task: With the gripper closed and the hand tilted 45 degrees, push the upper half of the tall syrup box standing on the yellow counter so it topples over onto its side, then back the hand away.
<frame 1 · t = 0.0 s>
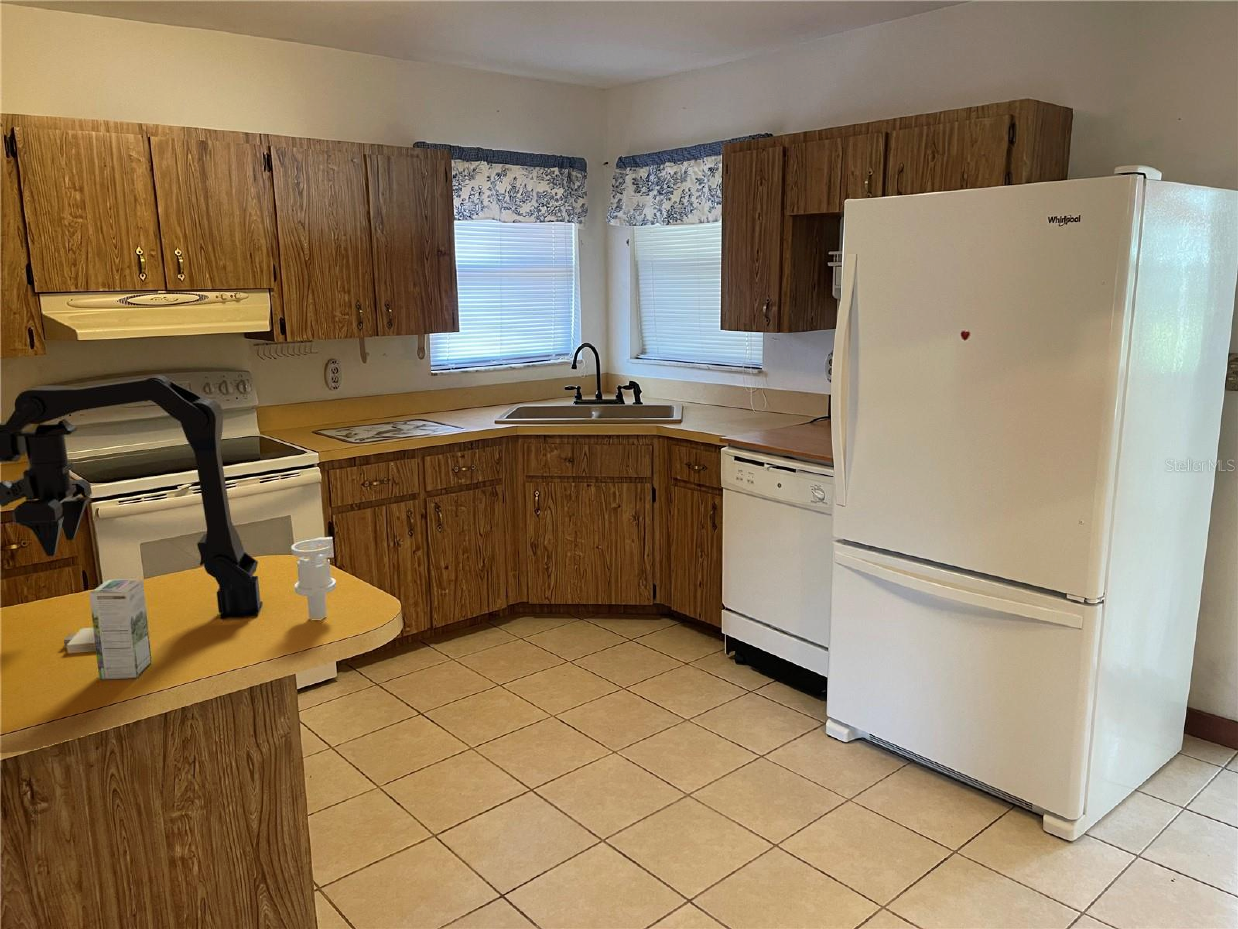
hand: (60, 547, 156), 15 cm above the table, tool pointing down, fingers open, 9 cm apart
cream flat tabbed slab: (104, 642, 152), on the table
syrup box: (127, 672, 142), on the table
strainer: (318, 618, 163), on the table
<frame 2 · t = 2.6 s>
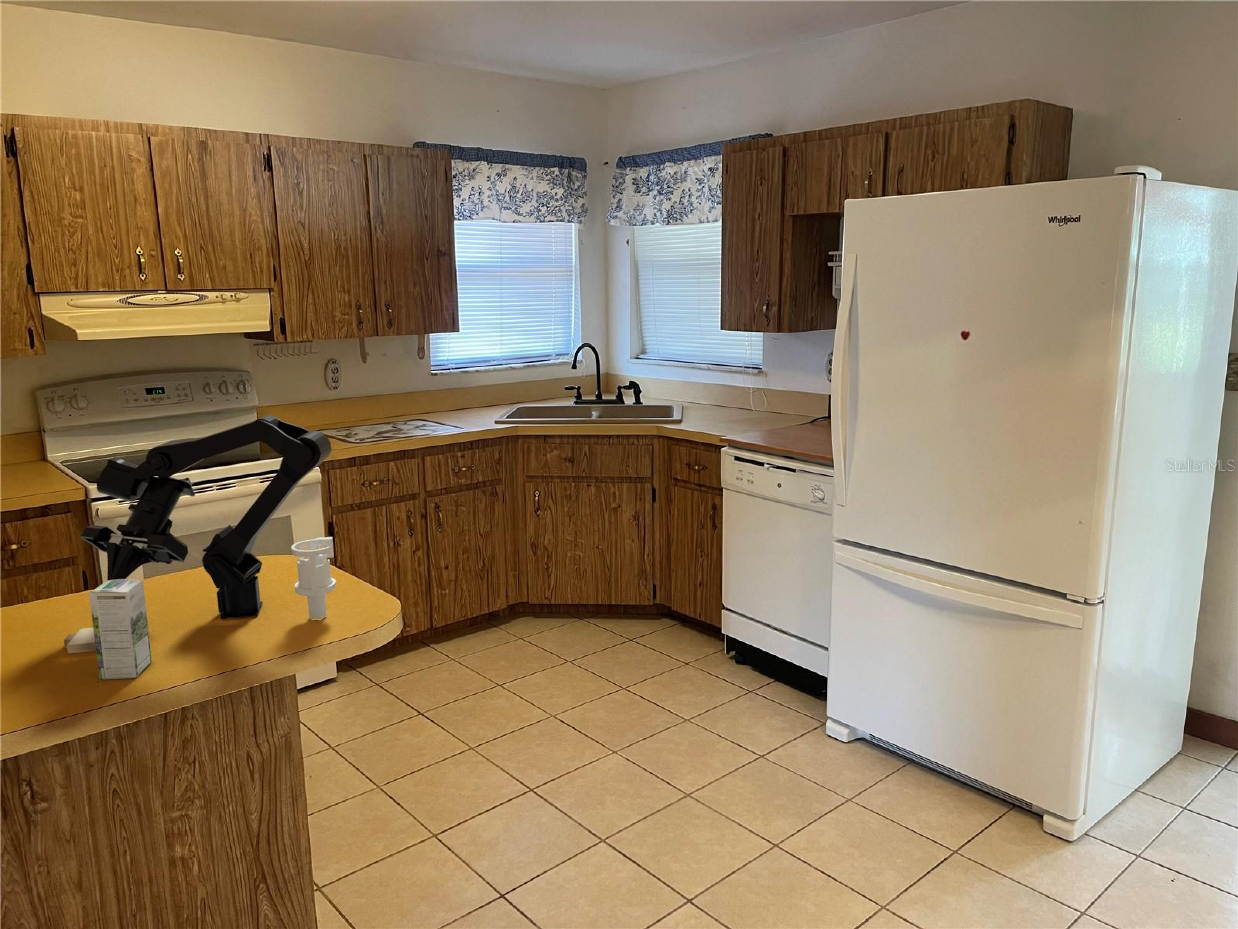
hand: (110, 587, 151), 9 cm above the table, tool tilted 45°, fingers closed
nothing on the table moved.
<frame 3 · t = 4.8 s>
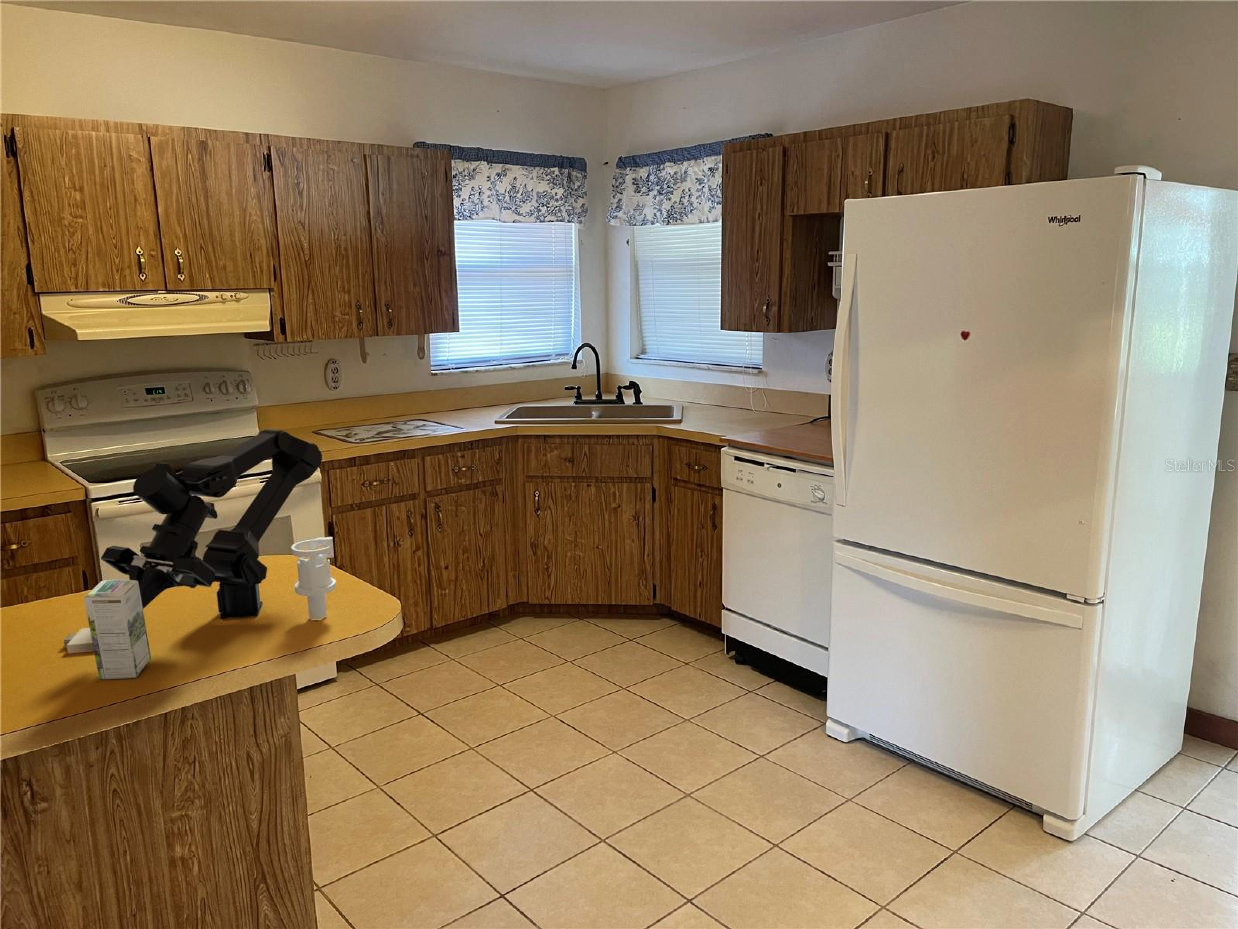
hand: (132, 613, 142), 9 cm above the table, tool tilted 45°, fingers closed
syrup box: (126, 670, 141), on the table, touching gripper
everything else where it was.
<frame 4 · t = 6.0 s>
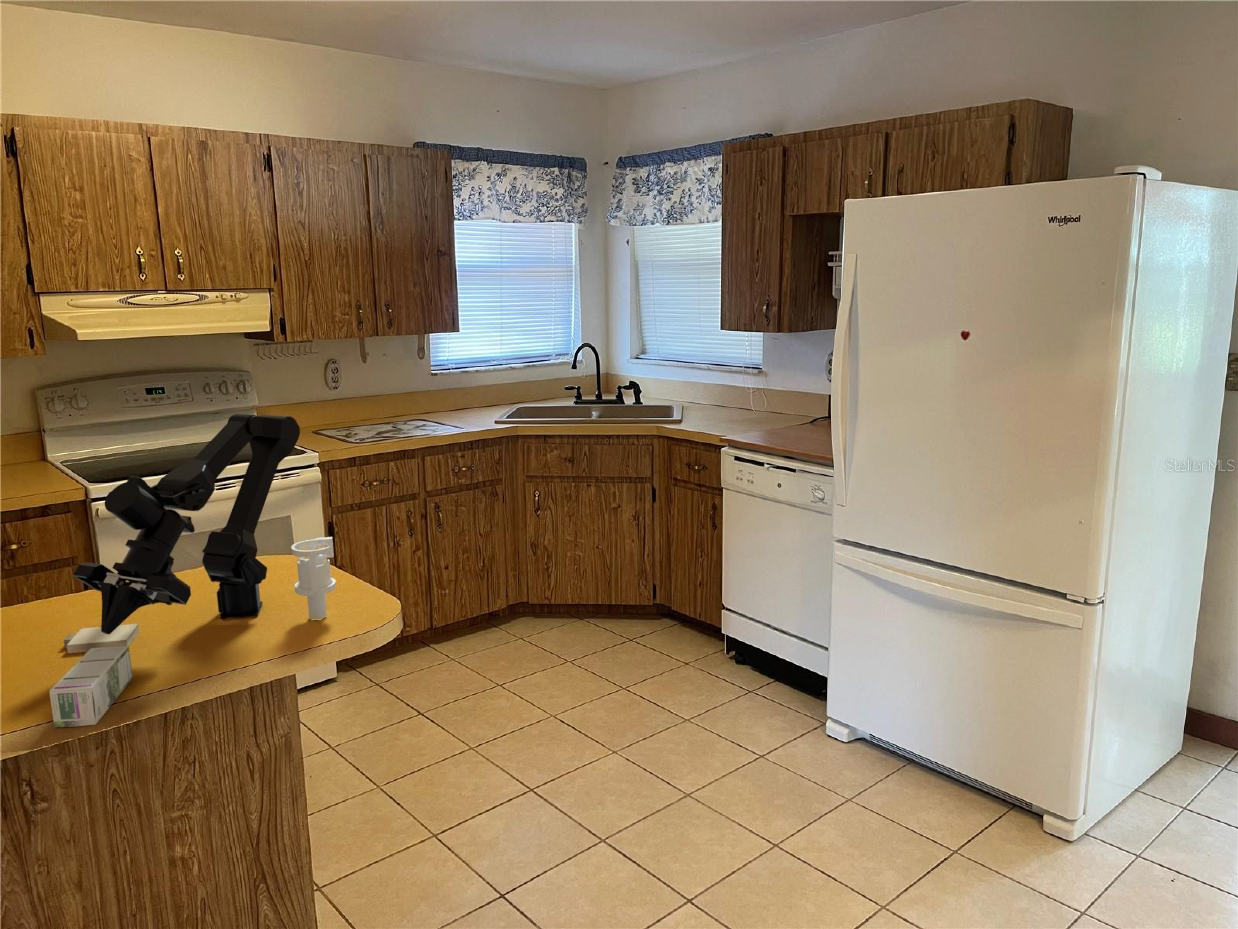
hand: (105, 633, 137), 8 cm above the table, tool tilted 45°, fingers closed
syrup box: (113, 662, 138), point 3 cm above the table
everything else where it was.
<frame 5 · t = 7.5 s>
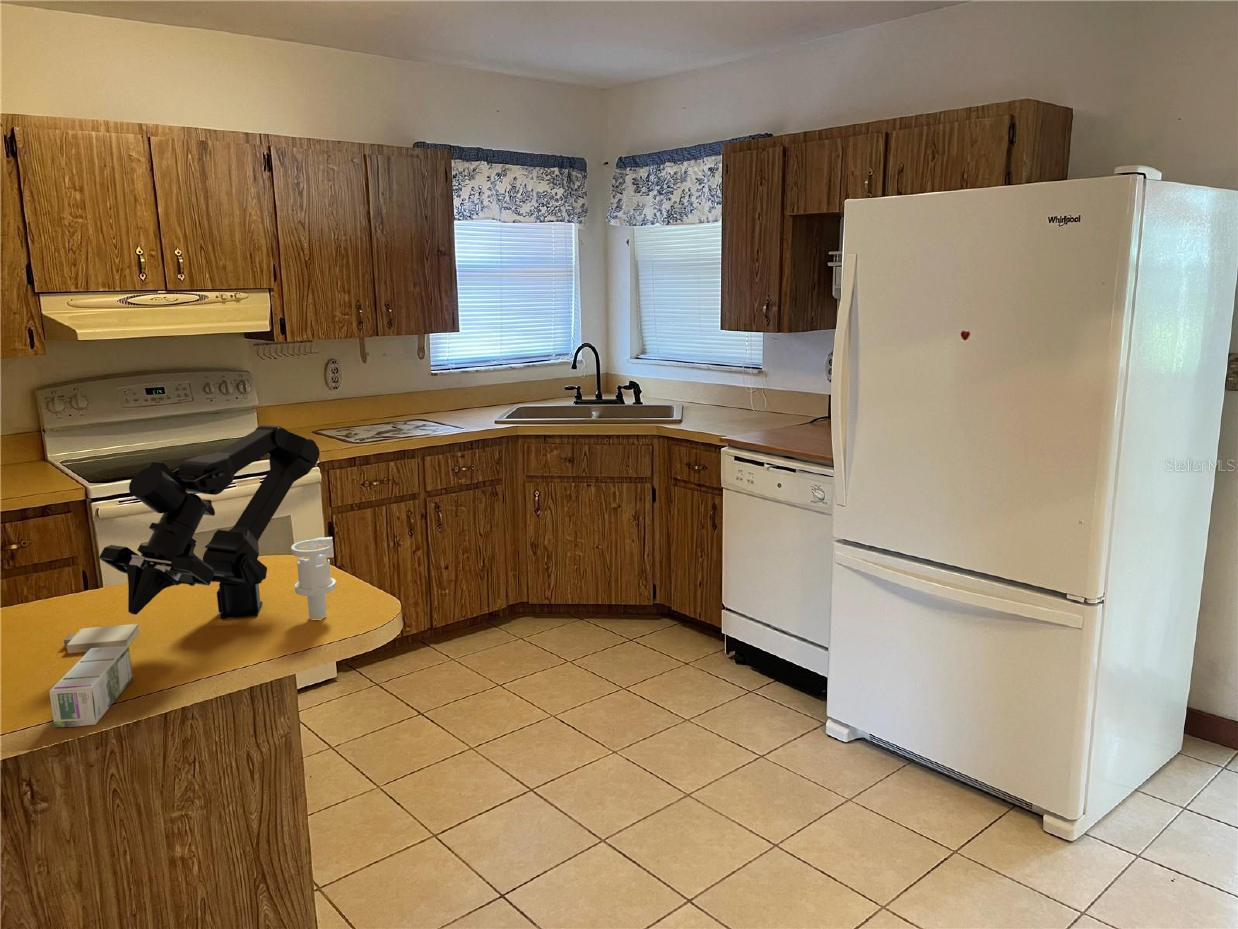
hand: (132, 613, 142), 9 cm above the table, tool tilted 45°, fingers closed
nothing on the table moved.
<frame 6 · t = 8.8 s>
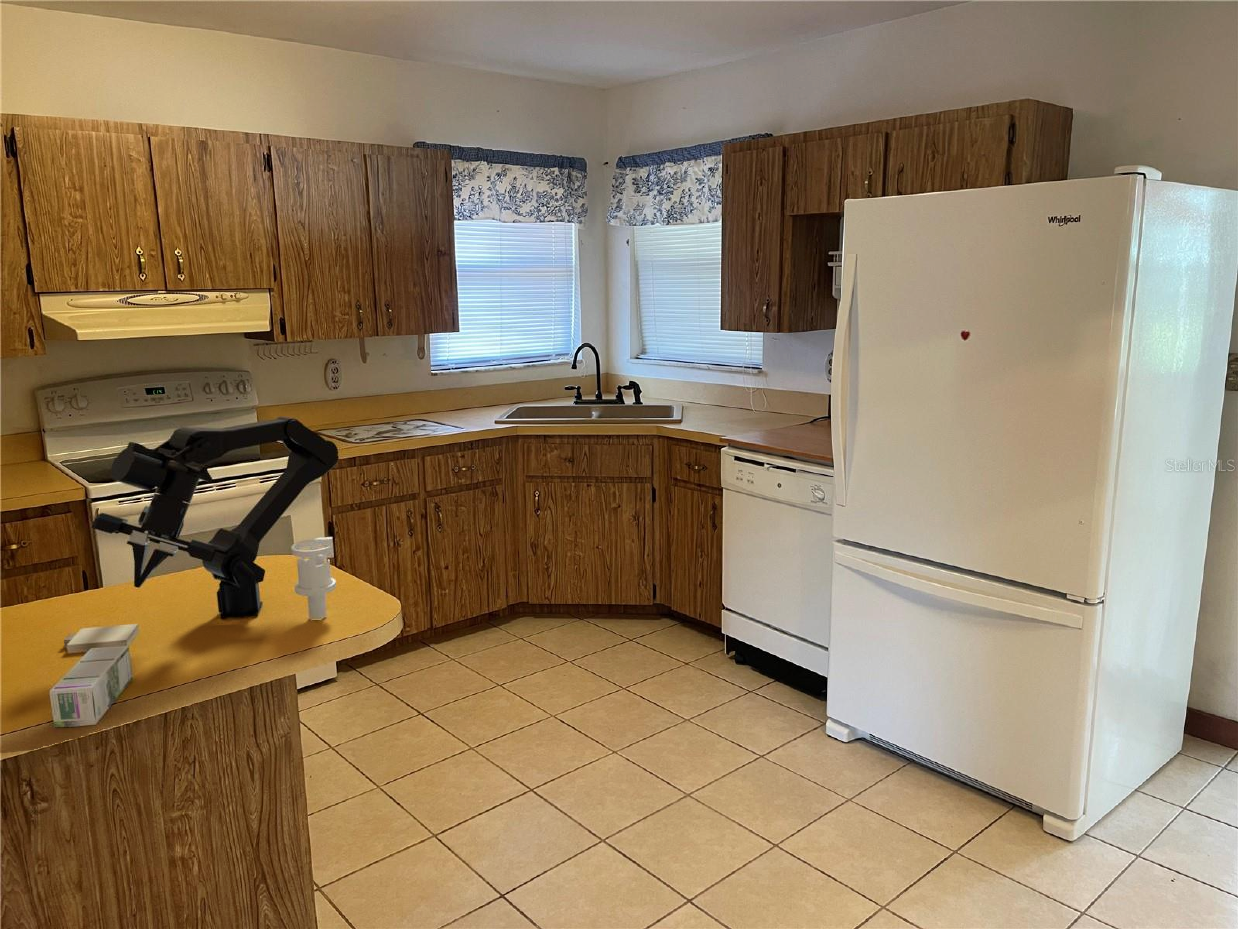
hand: (136, 587, 149), 10 cm above the table, tool tilted 30°, fingers closed
nothing on the table moved.
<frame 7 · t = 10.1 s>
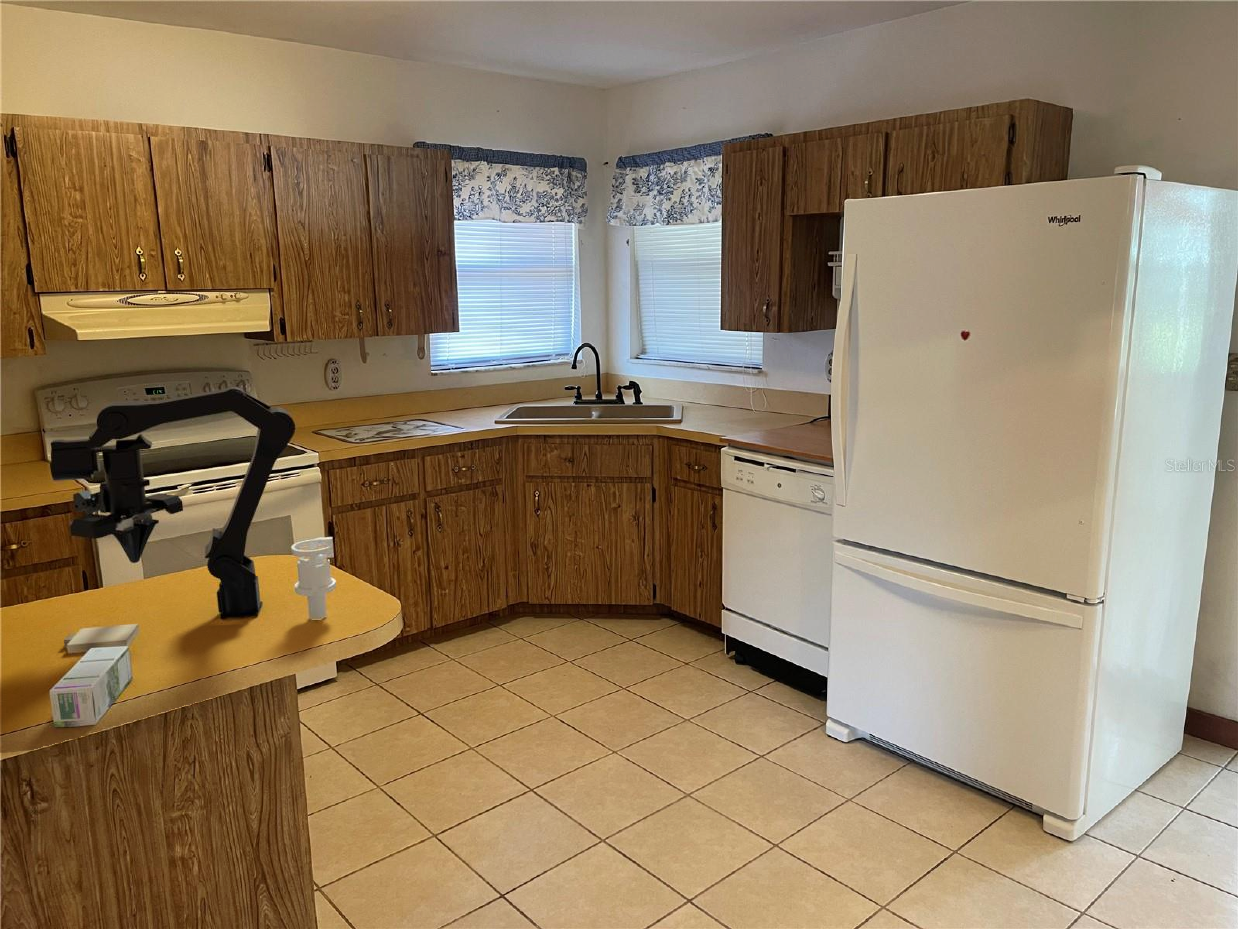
hand: (134, 562, 156), 12 cm above the table, tool pointing down, fingers closed
nothing on the table moved.
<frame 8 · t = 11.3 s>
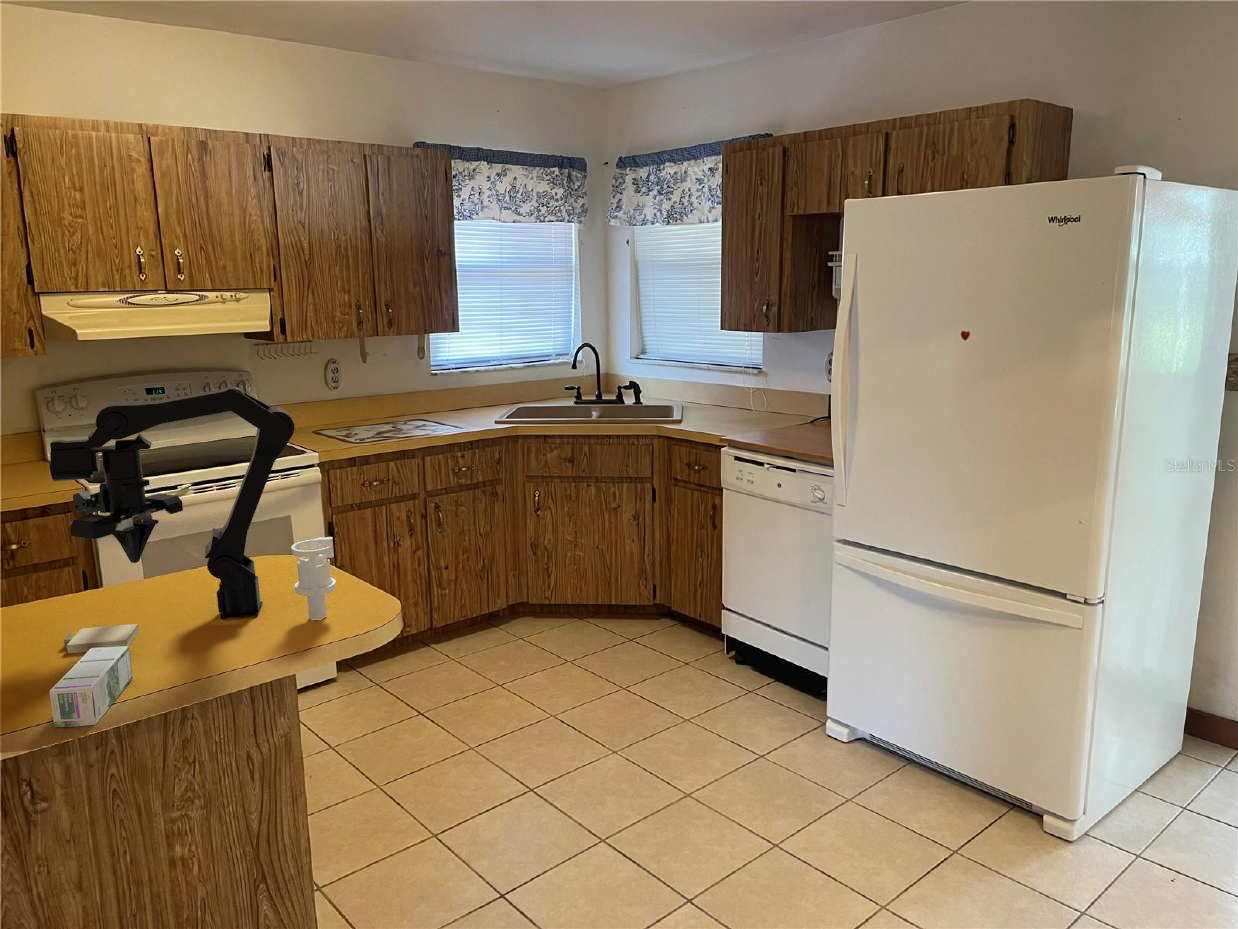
hand: (134, 562, 156), 12 cm above the table, tool pointing down, fingers closed
nothing on the table moved.
at the end: syrup box tilted 90°; syrup box inside the target area (5.6 cm from its centre), point 2.9 cm above the table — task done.
